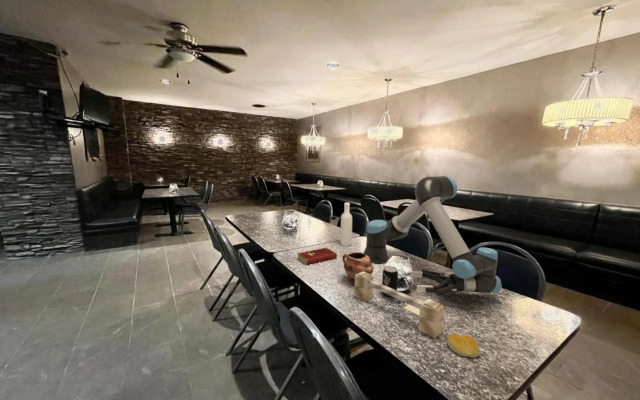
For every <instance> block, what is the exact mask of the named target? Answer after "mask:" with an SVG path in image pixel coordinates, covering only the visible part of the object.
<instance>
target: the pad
mask: <svg viewBox="0 0 640 400" xmlns="http://www.w3.org/2000/svg"><path fill="white" fill-rule="evenodd" d="M416 299H417V300H419V301H421V302H424V301H425V300H422V299H419V298H416ZM403 309H404V310H405V311H408V312H410V313H411V314H414V315H416V316H418V317H419V314H420V309H418V308H416V307H414V306H412V305H409V304H407V305H406V306H404V307H403Z"/></svg>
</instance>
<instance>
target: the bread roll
mask: <svg viewBox="0 0 640 400" xmlns="http://www.w3.org/2000/svg"><path fill="white" fill-rule="evenodd" d="M446 343H447V345H448V347H449V348H450V349H451V350H452V351H453V352H454V353H455V354H457V355H459V356H462V357H467V358H468V357H469V358H477V357H479V356H480V355H481V353H480V345H479V343H478V342H477V341H476V339H475V338H473V337H471V336H470V335H468V334H467V335H466V334H464V335H460V334H457V333H452V334H450V335H449V336H448V337H447V341H446Z"/></svg>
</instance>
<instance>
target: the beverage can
mask: <svg viewBox="0 0 640 400" xmlns="http://www.w3.org/2000/svg"><path fill="white" fill-rule="evenodd" d="M398 278H399V271H398V268H397V267H395V266H391V265H389V266H388V265H387V266H384V268H383V270H382V281H381V284H383V285H385V286H387V287H389V288H392V289H394V290H396V291H398V285H399V284H398V282H399V279H398ZM381 293H382V294H383V295H384V296H386V297H387V298H388V297H389V298H393V297H392V296H390V295H388V294H386V293H384V292H381Z"/></svg>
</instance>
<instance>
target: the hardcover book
mask: <svg viewBox="0 0 640 400" xmlns="http://www.w3.org/2000/svg"><path fill="white" fill-rule="evenodd" d="M296 254H297V260H299V261H300V260H301V261H302V262H301V261H300V262H301V263H302V264H304V263H305V264H306V265H307V266H311V265H310V264H312V265H315V263H316V264H319V262H320V263H324V261H325V262H328V260H329V261H333V260H336V259H338V253H337V252H335V251H334V250H332V249H330V248H328V247H322V248H317V249H312V250H307V251H301V252H297V253H296ZM306 265H305V266H306Z"/></svg>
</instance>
